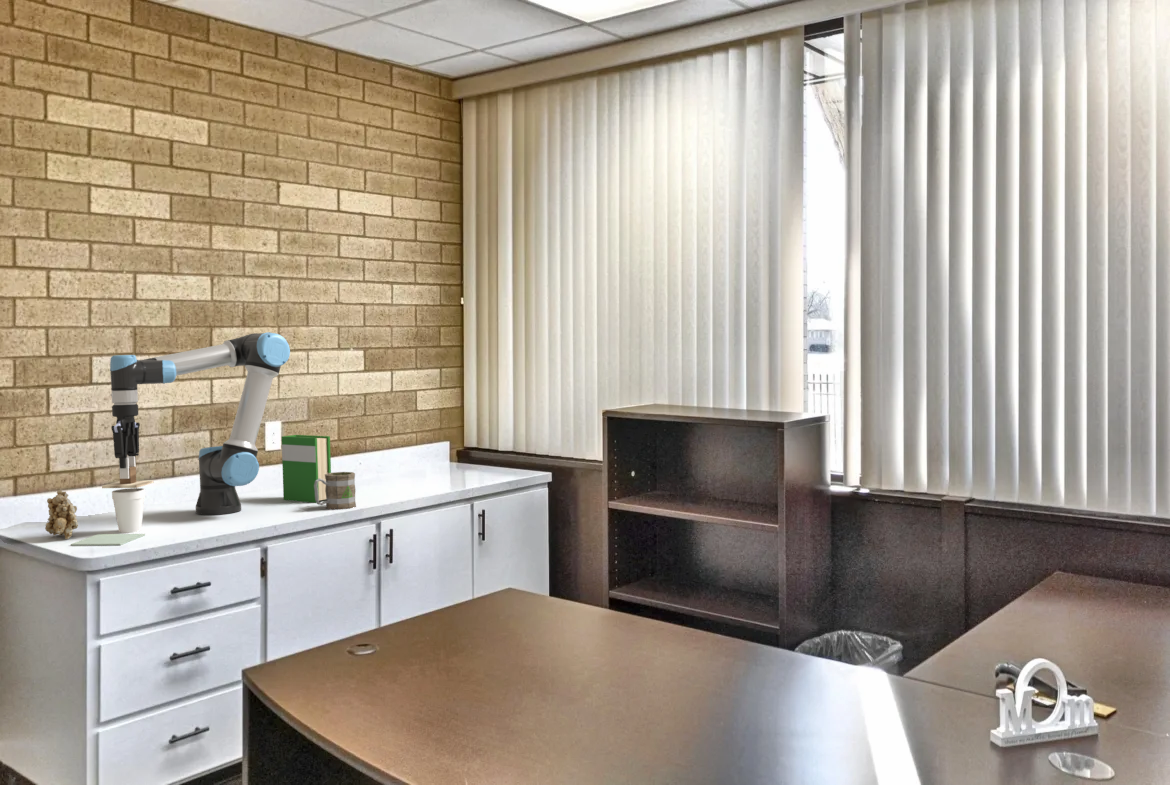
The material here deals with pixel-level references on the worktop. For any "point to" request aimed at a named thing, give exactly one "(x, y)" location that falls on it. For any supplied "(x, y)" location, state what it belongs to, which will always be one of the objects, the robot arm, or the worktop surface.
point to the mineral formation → (61, 515)
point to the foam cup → (129, 509)
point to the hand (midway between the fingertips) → (128, 477)
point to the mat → (107, 539)
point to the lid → (128, 481)
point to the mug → (338, 490)
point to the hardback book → (305, 466)
